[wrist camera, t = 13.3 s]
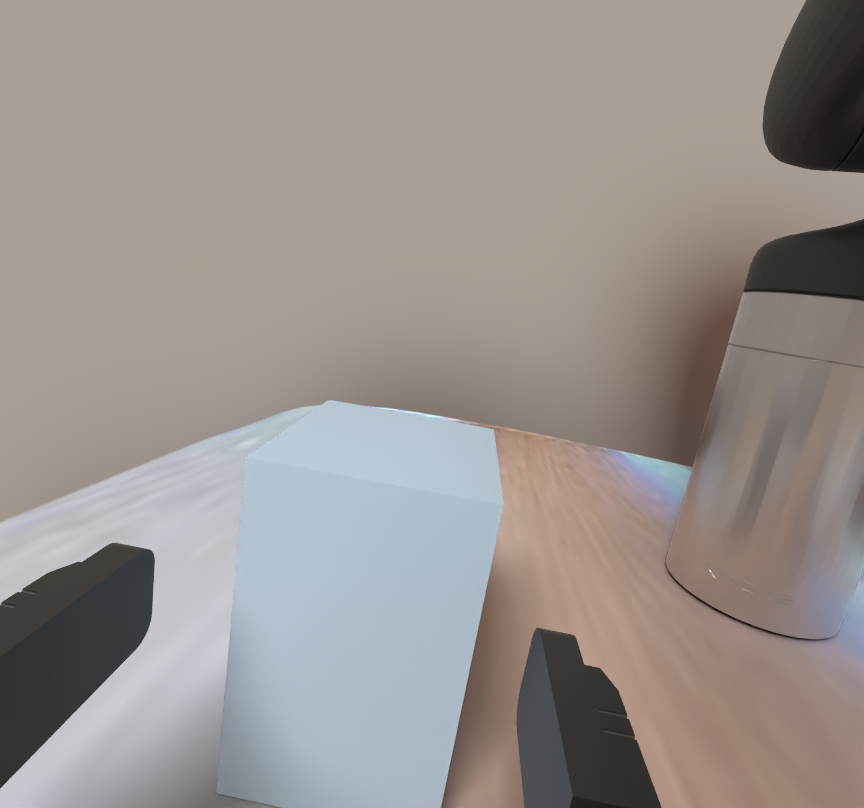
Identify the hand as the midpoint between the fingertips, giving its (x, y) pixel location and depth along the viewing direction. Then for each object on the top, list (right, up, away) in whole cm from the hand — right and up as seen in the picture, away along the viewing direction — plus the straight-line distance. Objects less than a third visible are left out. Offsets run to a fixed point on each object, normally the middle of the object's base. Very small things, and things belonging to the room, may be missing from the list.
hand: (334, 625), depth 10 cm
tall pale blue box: (-1, -6, +7) cm, 9 cm away
